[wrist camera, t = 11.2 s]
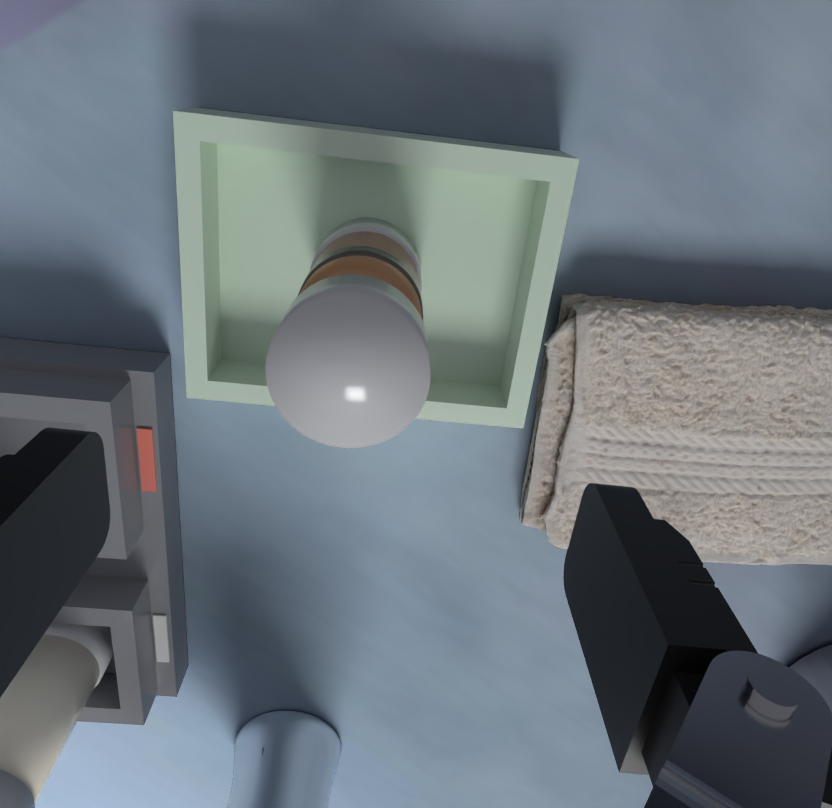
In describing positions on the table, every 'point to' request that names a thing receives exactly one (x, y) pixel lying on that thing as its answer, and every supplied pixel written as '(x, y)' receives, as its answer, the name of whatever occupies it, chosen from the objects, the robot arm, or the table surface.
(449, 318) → the parts tray
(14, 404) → the fuse block
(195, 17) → the table surface
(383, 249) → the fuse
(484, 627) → the table surface
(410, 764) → the table surface
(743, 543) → the washcloth
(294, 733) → the beer glass
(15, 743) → the fuse
